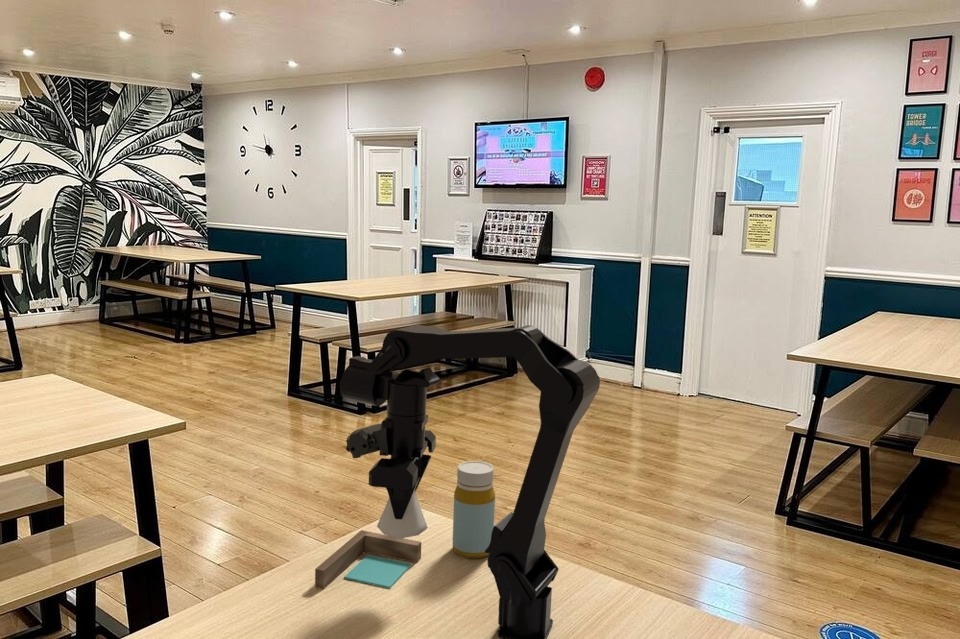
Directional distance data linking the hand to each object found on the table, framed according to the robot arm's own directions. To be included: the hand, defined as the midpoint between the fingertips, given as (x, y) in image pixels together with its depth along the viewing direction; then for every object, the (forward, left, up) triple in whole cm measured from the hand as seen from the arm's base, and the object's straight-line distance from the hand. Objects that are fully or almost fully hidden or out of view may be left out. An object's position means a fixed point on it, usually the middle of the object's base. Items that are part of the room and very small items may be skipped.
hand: (402, 511), depth 111 cm
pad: (+6, -4, -13) cm, 15 cm away
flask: (0, 0, -3) cm, 3 cm away
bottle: (-6, -17, -13) cm, 22 cm away
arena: (+6, -3, -13) cm, 15 cm away
